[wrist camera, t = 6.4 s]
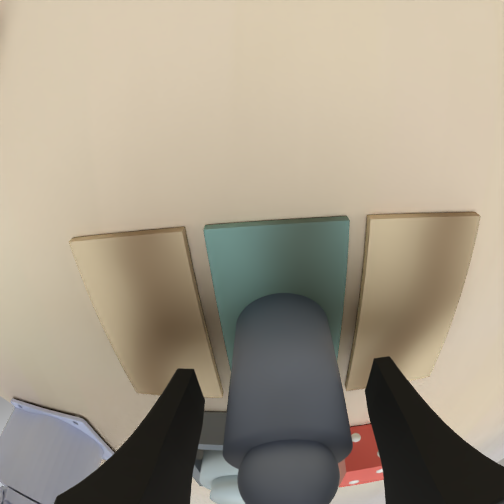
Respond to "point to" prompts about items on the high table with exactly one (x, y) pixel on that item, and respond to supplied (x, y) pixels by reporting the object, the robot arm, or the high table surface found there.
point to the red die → (361, 459)
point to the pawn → (285, 404)
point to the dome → (220, 478)
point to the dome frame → (209, 438)
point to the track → (278, 289)
